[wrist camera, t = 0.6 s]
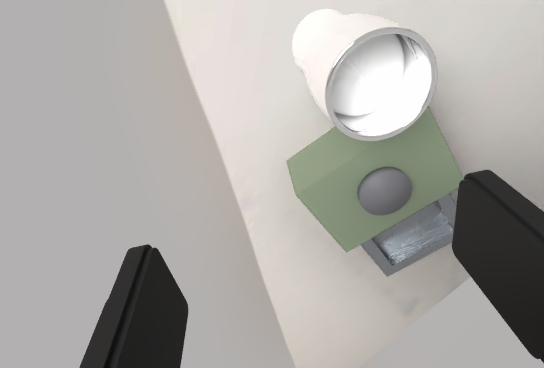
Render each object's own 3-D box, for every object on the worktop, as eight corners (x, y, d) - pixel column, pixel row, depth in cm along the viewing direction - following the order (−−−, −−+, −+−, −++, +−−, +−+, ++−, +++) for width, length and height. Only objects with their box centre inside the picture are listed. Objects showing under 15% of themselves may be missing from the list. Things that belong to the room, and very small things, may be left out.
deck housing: (395, 84, 34) (434, 111, 28) (433, 155, 39) (474, 192, 33) (286, 160, 38) (297, 200, 31) (333, 217, 43) (351, 261, 36)
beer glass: (314, -14, 29) (376, -8, 16) (373, 30, 31) (467, 66, 19) (273, 58, 32) (298, 111, 19) (330, 93, 34) (385, 162, 22)
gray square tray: (423, 156, 39) (436, 169, 37) (456, 217, 45) (470, 232, 43) (337, 210, 42) (344, 224, 40) (379, 261, 48) (387, 276, 46)
